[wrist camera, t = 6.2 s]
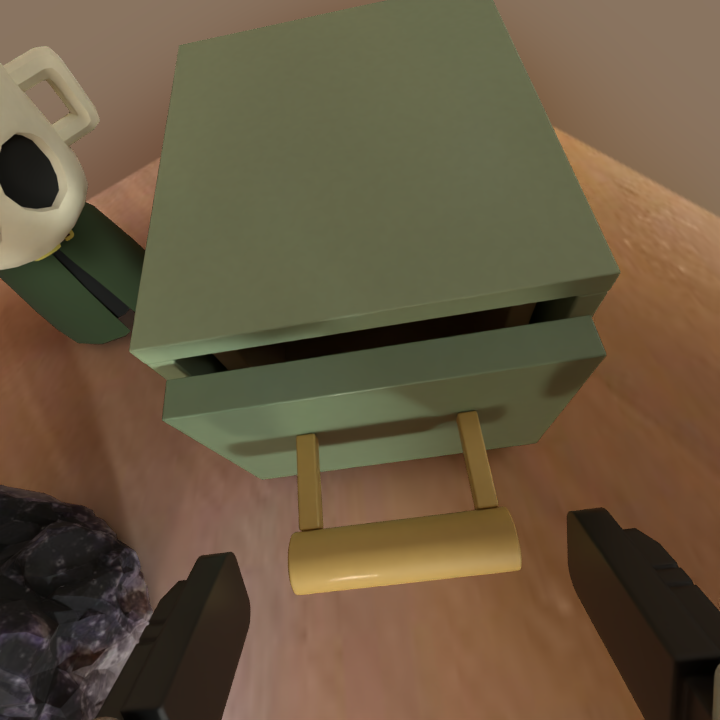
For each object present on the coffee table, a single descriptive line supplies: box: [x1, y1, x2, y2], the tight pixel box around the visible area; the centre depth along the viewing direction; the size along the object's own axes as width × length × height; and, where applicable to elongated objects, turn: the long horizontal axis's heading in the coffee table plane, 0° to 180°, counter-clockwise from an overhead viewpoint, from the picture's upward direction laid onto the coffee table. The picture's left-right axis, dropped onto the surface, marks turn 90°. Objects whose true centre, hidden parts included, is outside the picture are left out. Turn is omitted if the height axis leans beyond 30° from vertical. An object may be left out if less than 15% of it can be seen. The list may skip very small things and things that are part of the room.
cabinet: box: [129, 0, 620, 380], centre depth 19 cm, size 15×13×10 cm
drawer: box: [162, 302, 606, 595], centre depth 17 cm, size 18×11×8 cm, turn 6°
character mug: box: [0, 46, 145, 344], centre depth 19 cm, size 11×7×13 cm, turn 136°
